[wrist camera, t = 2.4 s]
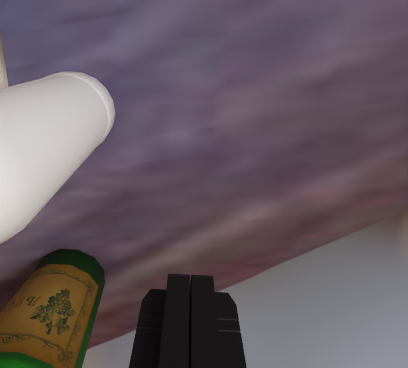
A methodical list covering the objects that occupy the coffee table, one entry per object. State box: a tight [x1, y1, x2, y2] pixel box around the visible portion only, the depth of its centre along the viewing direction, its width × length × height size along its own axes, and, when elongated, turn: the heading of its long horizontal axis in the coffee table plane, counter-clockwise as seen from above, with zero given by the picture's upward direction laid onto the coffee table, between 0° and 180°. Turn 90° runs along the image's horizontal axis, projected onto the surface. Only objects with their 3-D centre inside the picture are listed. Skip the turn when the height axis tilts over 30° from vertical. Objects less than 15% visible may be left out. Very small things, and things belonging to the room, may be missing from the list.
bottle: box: [0, 71, 115, 244], centre depth 21 cm, size 8×8×30 cm
